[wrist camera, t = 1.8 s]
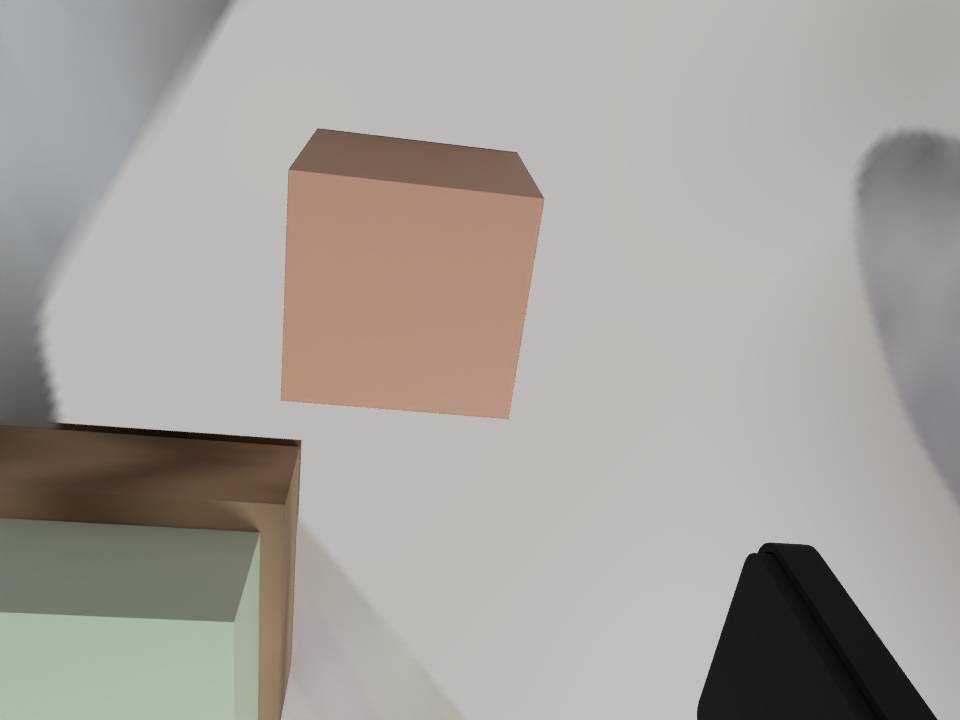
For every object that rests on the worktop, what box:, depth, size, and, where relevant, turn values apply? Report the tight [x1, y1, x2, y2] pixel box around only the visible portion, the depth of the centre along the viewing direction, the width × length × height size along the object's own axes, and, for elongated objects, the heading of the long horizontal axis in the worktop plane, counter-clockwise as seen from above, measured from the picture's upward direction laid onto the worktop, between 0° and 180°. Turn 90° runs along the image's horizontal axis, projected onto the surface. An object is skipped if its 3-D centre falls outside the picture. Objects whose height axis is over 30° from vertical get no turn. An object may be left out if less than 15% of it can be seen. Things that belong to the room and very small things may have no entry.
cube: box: [281, 128, 544, 419], centre depth 23 cm, size 6×6×6 cm
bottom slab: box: [0, 423, 301, 720], centre depth 29 cm, size 10×10×4 cm
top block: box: [0, 518, 260, 720], centre depth 25 cm, size 8×8×4 cm
